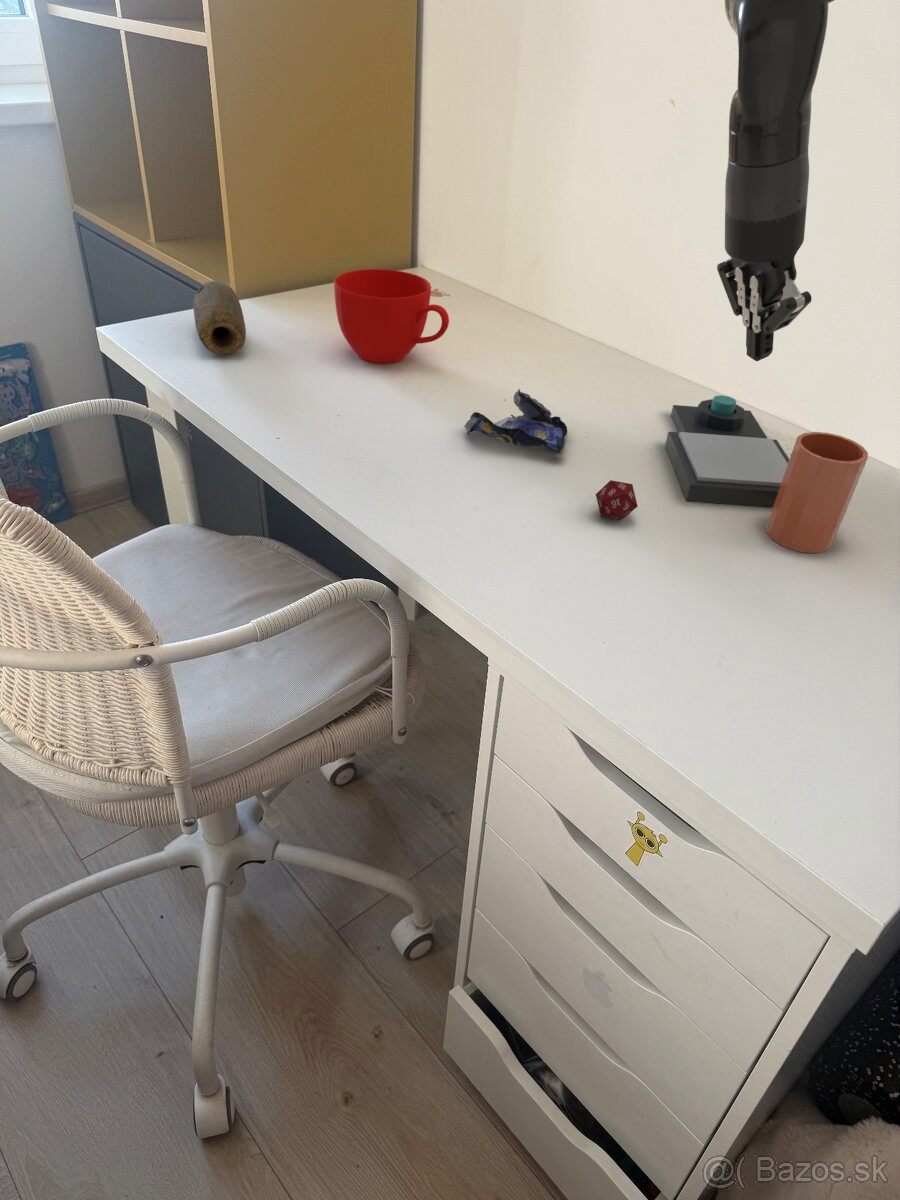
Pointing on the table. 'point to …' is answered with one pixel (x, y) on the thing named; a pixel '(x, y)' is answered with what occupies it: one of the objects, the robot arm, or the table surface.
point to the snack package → (523, 425)
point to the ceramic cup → (384, 313)
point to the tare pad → (716, 421)
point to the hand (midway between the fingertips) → (758, 355)
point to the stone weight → (219, 318)
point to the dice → (616, 500)
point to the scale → (727, 468)
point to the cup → (815, 491)
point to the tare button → (723, 405)
